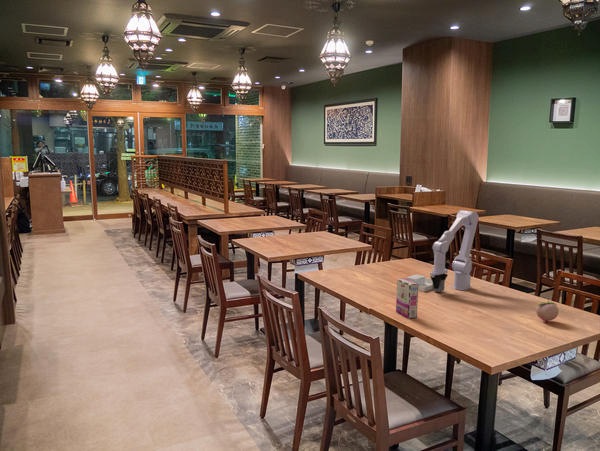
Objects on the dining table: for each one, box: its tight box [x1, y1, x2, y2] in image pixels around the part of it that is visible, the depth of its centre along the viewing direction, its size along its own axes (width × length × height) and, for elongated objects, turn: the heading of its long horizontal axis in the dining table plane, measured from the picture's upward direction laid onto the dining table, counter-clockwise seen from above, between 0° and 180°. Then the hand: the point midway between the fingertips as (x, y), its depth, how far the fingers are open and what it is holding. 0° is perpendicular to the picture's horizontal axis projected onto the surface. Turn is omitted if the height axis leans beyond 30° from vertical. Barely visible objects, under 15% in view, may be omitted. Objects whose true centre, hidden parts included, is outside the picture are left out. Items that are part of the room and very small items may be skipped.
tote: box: [418, 277, 433, 293], centre depth 274 cm, size 18×16×3 cm
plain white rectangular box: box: [405, 274, 426, 286], centre depth 276 cm, size 10×6×5 cm, turn 133°
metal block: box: [431, 279, 446, 293], centre depth 262 cm, size 4×4×6 cm
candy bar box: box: [395, 278, 419, 320], centre depth 226 cm, size 11×5×16 cm, turn 21°
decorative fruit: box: [535, 300, 559, 323], centre depth 218 cm, size 9×8×10 cm
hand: (438, 287), depth 262 cm, fingers closed on metal block, 4 cm apart
